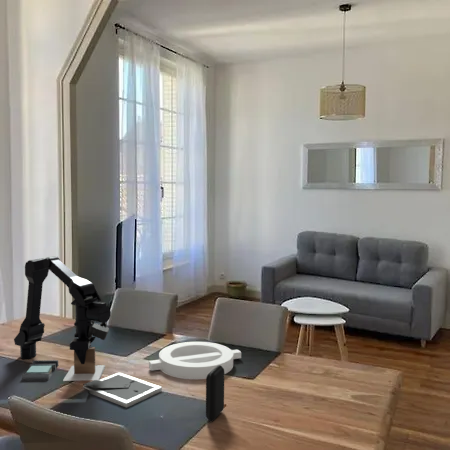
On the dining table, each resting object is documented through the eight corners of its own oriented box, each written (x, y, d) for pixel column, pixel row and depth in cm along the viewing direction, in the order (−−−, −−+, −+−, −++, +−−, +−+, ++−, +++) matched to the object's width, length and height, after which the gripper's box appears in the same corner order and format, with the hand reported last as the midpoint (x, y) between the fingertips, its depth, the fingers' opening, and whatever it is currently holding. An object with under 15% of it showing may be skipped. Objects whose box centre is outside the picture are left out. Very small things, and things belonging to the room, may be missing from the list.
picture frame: (83, 392, 170) (126, 409, 158) (83, 384, 170) (126, 400, 158) (119, 377, 183) (161, 392, 171) (119, 370, 183) (161, 384, 170)
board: (72, 368, 190) (71, 365, 189) (105, 367, 190) (104, 365, 190) (62, 383, 176) (62, 380, 176) (98, 382, 177) (98, 380, 176)
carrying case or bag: (217, 407, 159) (218, 361, 158) (226, 409, 158) (227, 362, 157) (204, 422, 149) (204, 373, 148) (213, 424, 148) (214, 375, 147)
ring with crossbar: (144, 372, 187) (144, 360, 187) (180, 349, 213) (180, 338, 213) (215, 385, 177) (215, 372, 176) (243, 359, 203) (243, 347, 202)
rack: (33, 367, 190) (33, 359, 189) (58, 367, 190) (58, 359, 190) (21, 383, 175) (21, 375, 175) (48, 383, 176) (48, 374, 176)
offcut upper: (31, 368, 184) (31, 365, 183) (51, 368, 184) (51, 365, 184) (26, 375, 178) (26, 372, 177) (47, 374, 178) (47, 371, 178)
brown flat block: (75, 371, 184) (75, 347, 183) (95, 371, 184) (95, 347, 183) (74, 373, 182) (73, 349, 181) (94, 373, 182) (94, 348, 181)
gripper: (102, 325, 172) (103, 370, 174) (111, 311, 191) (111, 352, 192) (68, 326, 172) (69, 371, 173) (80, 311, 190) (81, 352, 192)
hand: (84, 361), depth 183 cm, fingers open, 5 cm apart
